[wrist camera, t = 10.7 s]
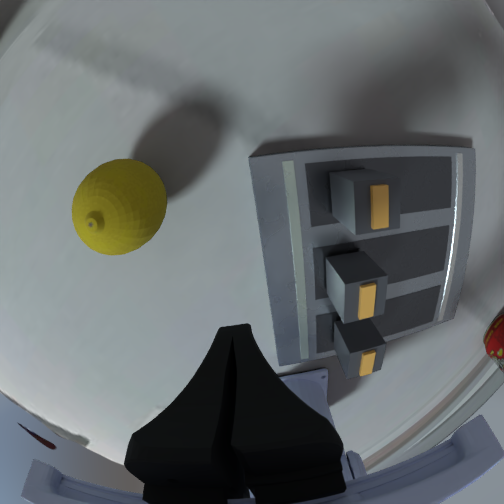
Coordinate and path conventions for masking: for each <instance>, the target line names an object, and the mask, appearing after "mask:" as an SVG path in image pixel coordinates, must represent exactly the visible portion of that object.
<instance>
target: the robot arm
mask: <svg viewBox="0 0 504 504" xmlns="http://www.w3.org/2000/svg"><path fill="white" fill-rule="evenodd" d="M323 375H324V376H323ZM327 386H328V370H327V369H319V370H314V371H309V372H304V373H299V374H294V375H289V376H283V377H278V375H277V374H276V373H275V372H274V370H273V369H272V368H271V366H270V365H269V364H268V362H267V361H266V359H265V358H264V356H263V354H262V352H261V351H260V349H259V347H258V345H257V343H256V341H255V339H254V337H253V334H252V329H251V325H250V324H248V323H247V324H240V325H233V326H226V327H220V328H219V329H218V332H217V334H216V336H215V339H214V341H213V343H212V345H211V347H210V349H209V351H208V353H207V355H206V357H205V358H204V360H203V362H202V364H201V365H200V367H199V368H198V370H197V371H196V373H195V375H194V376H193V378H192V379H191V380H190V382H189V383H188V384H187V386H186V387H185V388H184V389H183V391H182V392H181V393H180V394H179V395H178V396H177V397H176V399H175V400H174V401H173V402H172V403H171V404H170V405H169V406H168V407H167V408H166V409H165V410H163V411H162V412H161V413H160V414H159V415H158V416H157V417H156V418H154V419H153V420H152V421H150V422H149V423H148V424H146V425H145V426H143V427H142V428H141V429H139V430H138V431H136V432H135V433H133V434H132V436H131V439H130V441H129V444H128V448H127V452H126V457H125V461H124V465H125V467H126V469H127V470H128V471H129V472H130V473H131V474H133V475H134V476H135V477H137V478H138V479H139V480H141V481H142V482H143V483H145V485H144V491H143V494H140V493H134V492H128V491H123V490H118V489H113V488H109V487H105V486H100V485H97V484H93V483H90V482H86V481H82V480H79V479H76V478H73V477H70V476H66V475H64V474H62V473H61V472H60V471H59V470H57V469H56V468H55V467H53V466H51V465H49V464H47V463H44V462H41V461H39V460H37V459H33V462H32V464H31V467H30V470H29V473H28V476H27V479H26V482H25V485H24V488H23V491H22V494H21V497H22V498H23V499H25V500H26V501H28V502H30V503H31V504H439V503H441V502H443V501H445V500H446V499H448V498H450V497H451V496H453V495H455V494H456V493H458V492H460V491H461V490H463V489H464V488H466V487H467V486H469V485H470V484H472V483H473V482H475V481H476V480H477V479H479V478H480V477H481V476H482V475H484V474H485V473H486V472H488V471H489V470H490V469H491V468H492V467H494V466H495V465H496V464H497V463H498V462H499V461H501V460H502V459H503V458H504V450H503V449H502V447H501V445H500V443H499V442H498V440H497V438H496V437H495V435H494V433H493V432H492V430H491V428H490V427H489V425H488V423H487V422H486V420H485V419H484V417H483V416H482V415H479V416H477V417H476V418H474V419H472V420H471V421H469V422H468V423H466V424H464V425H463V426H461V427H460V428H459V429H458V430H456V432H454V434H453V435H452V437H451V439H449V440H447V441H445V442H443V443H442V444H440V445H438V446H436V447H434V448H432V449H430V450H428V451H426V452H424V453H421V454H419V455H417V456H415V457H413V458H410V459H408V460H406V461H403V462H401V463H399V464H396V465H394V466H391V467H388V468H386V469H383V470H380V471H378V472H375V473H372V474H369V475H367V473H366V470H365V467H364V464H363V462H362V459H361V457H360V455H359V454H358V453H355V452H353V451H352V450H351V451H348V452H346V456H347V458H346V456H345V452H344V448H343V443H342V440H341V438H340V436H339V434H338V433H337V431H336V428H335V425H334V422H333V419H332V415H331V412H330V409H329V406H328V403H327Z"/></svg>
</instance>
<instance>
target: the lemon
mask: <svg viewBox="0 0 504 504" xmlns="http://www.w3.org/2000/svg"><path fill="white" fill-rule="evenodd" d="M166 207H167V195H166V190H165V187H164V184H163V182H162V180H161V178H160V177H159V175H158V174H157V173H156V172H155V171H154V170H153V169H152V168H151V167H150V166H148V165H146V164H144V163H143V162H140V161H136V160H132V159H116V160H113V161H110V162H107V163H104V164H102V165H100V166H99V167H97V168H96V169H94V170H93V171H92V172H90V173H89V174H88V175H87V176H86V177H85V179H84V180H83V181H82V182H81V184H80V185H79V187H78V189H77V191H76V193H75V196H74V198H73V204H72V220H73V224H74V227H75V230H76V232H77V234H78V236H79V237H80V238H81V240H82V241H83V242H84V243H85V244H86V245H87V246H88V247H90V248H91V249H92V250H95V251H97V252H99V253H101V254H106V255H122V254H126V253H128V252H131V251H134V250H136V249H138V248H140V247H141V246H142V245H144V244H145V243H146V242H148V241H149V240H150V239H151V238H152V237H153V236H154V235H155V233H156V232H157V231H158V230H159V228H160V226H161V224H162V222H163V219H164V217H165V213H166Z"/></svg>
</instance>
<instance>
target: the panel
mask: <svg viewBox="0 0 504 504" xmlns="http://www.w3.org/2000/svg"><path fill="white" fill-rule="evenodd" d="M248 158H249V164H250V171H251V177H252V184H253V190H254V197H255V203H256V210H257V217H258V223H259V230H260V237H261V244H262V251H263V257H264V264H265V271H266V278H267V285H268V292H269V299H270V307H271V314H272V321H273V328H274V335H275V343H276V350H277V357H278V362H279V366H285V365H290V364H296V363H301V362H306V361H311V360H316V359H321V358H325V357H330V356H334V355H337V354H336V352H335V350H334V322H335V321H340V320H341V318H340V316H339V314H338V312H337V311H336V309H335V307H334V305H333V303H332V301H331V300H330V298H329V296H328V294H327V281H326V257H331V256H337V255H342V254H348V253H354V252H359V251H364V252H365V253H366V254H367V255H368V256H369V257H370V258H371V259H372V260H373V261H374V262H375V263H376V264H377V265H378V266H379V267H380V268H381V269H382V270H383V271H384V272H385V273H386V274H387V275H388V283H387V293H386V301H385V309H384V314H382V315H378V316H374V317H370V319H371V321H372V322H373V324H374V325H375V327H376V328H377V330H378V331H379V333H380V334H381V336H382V337H383V339H384V341H385V342H387V341H390V340H393V339H397V338H400V337H403V336H406V335H409V334H412V333H415V332H418V331H421V330H424V329H427V328H429V327H432V326H435V325H438V324H440V323H443V322H445V321H448V320H451V319H453V318H454V316H455V312H456V308H457V305H458V301H459V297H460V293H461V289H462V284H463V280H464V275H465V270H466V265H467V259H468V253H469V247H470V240H471V233H472V224H473V214H474V201H475V177H476V159H475V149H474V148H468V147H459V146H439V145H372V146H350V147H334V148H322V149H310V150H300V151H291V152H283V153H274V154H267V155H260V156H253V157H248ZM361 169H372V170H376V171H379V172H383V173H386V174H389V175H393V176H396V177H399V178H400V228H399V229H392V230H386V231H380V232H374V233H367V234H361V235H354V234H353V233H352V232H351V231H350V230H349V229H347V228H346V227H345V226H344V225H343V224H342V223H340V222H339V221H338V220H337V219H336V218H335V217H333V214H332V199H331V186H330V175H329V172H338V171H348V170H361Z"/></svg>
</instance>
